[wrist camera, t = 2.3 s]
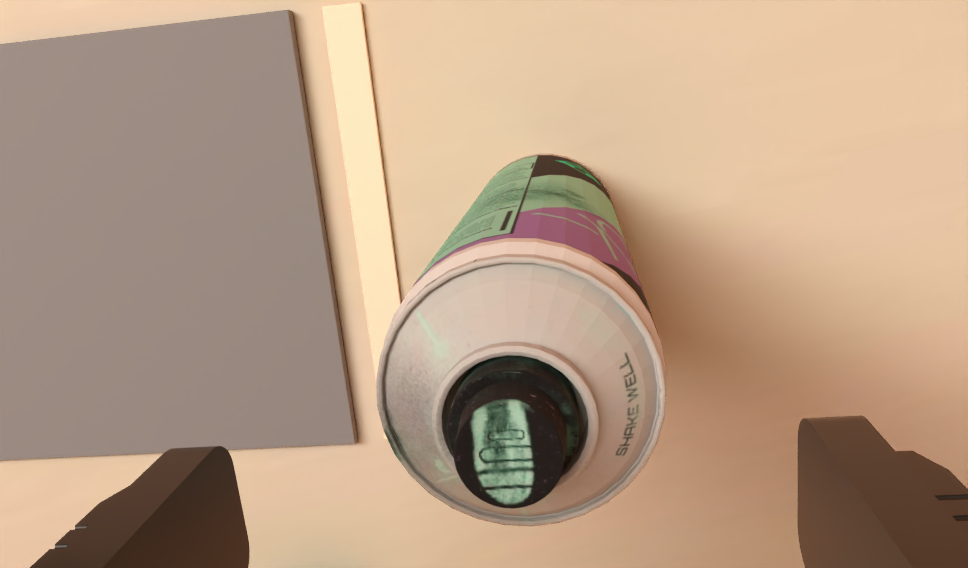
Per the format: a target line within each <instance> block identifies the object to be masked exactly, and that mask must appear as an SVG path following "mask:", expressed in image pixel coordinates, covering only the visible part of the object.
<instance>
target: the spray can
mask: <svg viewBox="0 0 968 568" xmlns="http://www.w3.org/2000/svg"><path fill="white" fill-rule="evenodd" d="M376 387H377V406H378V410H379V414H380V418H381V422H382V426H383V430H384V433H385V435H386V437H387V439H388V441H389V443H390V445H391V447H392V449H393V451H394V453H395V455H396V457H397V458H398V459H399V461H400V462H401V463H402V465H403V466H404V467H405V469H406V470H407V471H408V473H409V474H410V475H411V477H413V478H414V479H415V480H416V481H417V482H418V483H419V484H420V485H421V486H422V487H423V488H424V489H425V490H427V491H428V492H429V493H430V494H431V495H433V496H434V497H436V498H437V499H439V500H440V501H442V502H444V503H445V504H447V505H448V506H450V507H451V508H453V509H455V510H458V511H460V512H462V513H465V514H467V515H470V516H472V517H474V518H477V519H480V520H485V521H489V522H494V523H498V524H502V525H515V526H538V525H546V524H554V523H560V522H563V521H566V520H569V519H572V518H576V517H579V516H582V515H585V514H586V513H588V512H590V511H592V510H594V509H596V508H598V507H600V506H602V505H603V504H605V503H607V502H609V501H610V500H611V499H612V498H613V497H615V496H616V495H617V494H618V493H620V492H621V491H622V490H623V489H625V488H626V487H627V486H628V485H629V484H630V483H631V482H632V480H633V479H634V478H635V477H636V475H637V474H638V473H639V472H640V471H641V469H642V468H643V467H644V466H645V464H646V462H647V460H648V458H649V457H650V455H651V453H652V451H653V449H654V447H655V445H656V443H657V441H658V437H659V434H660V430H661V427H662V423H663V419H664V414H665V396H666V367H665V360H664V354H663V348H662V344H661V341H660V338H659V335H658V332H657V330H656V327H655V324H654V321H653V318H652V315H651V312H650V310H649V307H648V304H647V301H646V298H645V295H644V293H643V290H642V287H641V284H640V281H639V278H638V276H637V273H636V270H635V267H634V264H633V261H632V259H631V256H630V253H629V250H628V247H627V244H626V242H625V239H624V236H623V233H622V230H621V227H620V225H619V222H618V219H617V216H616V213H615V210H614V208H613V205H612V202H611V200H610V197H609V194H608V192H607V190H606V189H605V187H604V186H603V184H602V183H601V181H600V180H599V179H598V178H597V177H596V176H595V175H594V174H593V173H592V172H591V171H590V170H589V169H588V168H586V167H585V166H583V165H582V164H581V163H579V162H577V161H575V160H572V159H570V158H568V157H564V156H559V155H555V154H537V155H531V156H526V157H523V158H521V159H519V160H516V161H514V162H512V163H510V164H509V165H507V166H506V167H504V168H503V169H501V170H500V171H499V172H498V173H497V174H496V175H495V176H494V177H493V178H492V179H491V180H490V181H489V183H488V184H487V186H486V187H485V188H484V190H483V191H482V192H481V194H480V195H479V196H478V198H477V199H476V201H475V202H474V203H473V205H472V206H471V207H470V209H469V210H468V212H467V213H466V214H465V216H464V217H463V218H462V220H461V221H460V222H459V224H458V225H457V227H456V228H455V229H454V231H453V232H452V233H451V235H450V236H449V237H448V239H447V240H446V242H445V243H444V244H443V246H442V247H441V248H440V250H439V251H438V253H437V254H436V255H435V257H434V258H433V259H432V261H431V262H430V263H429V265H428V266H427V268H426V269H425V270H424V272H423V273H422V274H421V276H420V277H419V278H418V280H417V281H416V283H415V284H414V285H413V287H412V288H411V289H410V291H409V292H408V294H407V295H406V297H405V298H404V300H403V301H402V303H401V304H400V306H399V308H398V309H397V311H396V312H395V314H394V316H393V318H392V321H391V323H390V326H389V329H388V331H387V334H386V336H385V339H384V345H383V349H382V351H381V354H380V360H379V366H378V372H377V378H376Z"/></svg>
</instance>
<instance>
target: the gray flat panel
mask: <svg viewBox="0 0 968 568" xmlns="http://www.w3.org/2000/svg"><path fill="white" fill-rule="evenodd" d="M322 12H323V19H324V26H325V33H326V40H327V47H328V53H329V60H330V67H331V74H332V81H333V88H334V95H335V102H336V109H337V116H338V123H339V130H340V137H341V143H342V150H343V157H344V164H345V171H346V178H347V185H348V192H349V199H350V206H351V213H352V220H353V227H354V234H355V240H356V247H357V254H358V261H359V268H360V275H361V282H362V289H363V296H364V303H365V310H366V317H367V324H368V330H369V337H370V344H371V351H372V358H373V365H374V372H375V379H376V378H377V372H378V366H379V360H380V354H381V351H382V349H383V345H384V339H385V336H386V334H387V331H388V329H389V326H390V323H391V321H392V318H393V316H394V314H395V312H396V311H397V309H398V308H399V306H400V304H401V299H400V291H399V283H398V276H397V268H396V261H395V253H394V246H393V238H392V231H391V223H390V215H389V208H388V200H387V193H386V185H385V178H384V170H383V162H382V155H381V147H380V140H379V132H378V125H377V117H376V110H375V102H374V94H373V87H372V79H371V72H370V64H369V57H368V49H367V41H366V34H365V26H364V19H363V11H362V4H361V2H358V3H350V4H341V5H333V6H325V7H322ZM382 427H383V426H382ZM383 434H384V440H386V439H387V437H386V435H385V433H384V430H383ZM357 439H358V437H357V431H356V424H355V418H354V411H353V405H352V398H351V392H350V385H349V379H348V372H347V366H346V359H345V353H344V346H343V340H342V333H341V327H340V320H339V313H338V307H337V300H336V294H335V287H334V281H333V274H332V268H331V261H330V255H329V248H328V242H327V235H326V229H325V222H324V216H323V209H322V203H321V196H320V190H319V183H318V177H317V170H316V164H315V157H314V151H313V144H312V138H311V131H310V125H309V118H308V112H307V105H306V99H305V92H304V86H303V79H302V73H301V66H300V60H299V53H298V47H297V40H296V34H295V27H294V21H293V14H292V11H290V10H283V11H275V12H266V13H258V14H250V15H241V16H233V17H225V18H216V19H208V20H199V21H191V22H183V23H174V24H166V25H158V26H149V27H141V28H133V29H124V30H116V31H108V32H99V33H91V34H83V35H74V36H66V37H57V38H49V39H41V40H32V41H24V42H16V43H7V44H0V460H20V459H42V458H63V457H85V456H106V455H128V454H149V453H165V452H166V451H167V450H169V449H171V448H189V447H210V446H222V447H224V448H226V449H227V450H236V449H257V448H279V447H300V446H322V445H344V444H355V443H356V441H357Z"/></svg>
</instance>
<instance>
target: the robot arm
mask: <svg viewBox="0 0 968 568" xmlns="http://www.w3.org/2000/svg"><path fill="white" fill-rule="evenodd" d="M798 535H799V542H800V548H801V553H802V557H803V561H804V565H805V568H968V489H967V488H966V487H965V486H964V485H963V484H962V483H961V482H960V481H959V480H958V479H957V478H956V477H955V476H954V475H953V474H952V473H951V472H950V471H949V470H948V469H946V468H944V467H942V466H940V465H938V464H936V463H934V462H933V461H931V460H929V459H927V458H925V457H923V456H921V455H919V454H917V453H915V452H914V451H897V452H895V451H894V449H893V448H892V447H891V446H890V445H889V444H888V443H887V441H886V440H885V439H884V438H883V437H882V436H881V435H880V433H879V432H878V431H877V430H876V429H875V428H874V427H873V426H872V424H871V423H870V422H869V421H868V420H867V419H866V418H865V417H863V416H845V417H825V418H804V419H802V420H801V422H800V425H799V430H798ZM248 564H249V541H248V535H247V530H246V525H245V520H244V515H243V510H242V506H241V501H240V496H239V491H238V486H237V481H236V476H235V471H234V466H233V462H232V458H231V456H230V454H229V452H228V451H227V449H226V448H224V447H222V446H210V447H189V448H171V449H169V450H167V451H166V452H165V453H164V454H163V455H162V456H161V457H160V458H159V459H157V460H156V461H155V462H154V463H153V464H152V465H151V466H150V467H149V468H148V469H147V470H146V471H145V472H144V473H143V474H142V475H141V476H140V477H139V478H138V479H137V480H135V481H134V482H133V483H132V484H131V485H130V486H128V487H127V488H125V489H123V490H121V491H120V492H118V493H116V494H114V495H113V496H111V497H109V498H108V499H106V500H104V501H102V502H101V503H99V504H98V505H97V506H96V507H95V508H94V509H93V510H92V511H90V512H89V513H88V514H87V515H86V516H85V517H84V518H83V519H82V520H81V521H80V522H79V523H78V524H76V525H75V530H70V531H69V532H68V533H67V534H66V535H65V536H64V537H62V538H61V539H60V540H59V541H58V542H57V543H56V544H55V549H50V550H48V551H47V552H46V553H45V554H44V555H43V556H42V557H41V558H40V559H39V560H38V561H37V562H36V563H34V564H33V565H32V566H31V567H30V568H248Z"/></svg>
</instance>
